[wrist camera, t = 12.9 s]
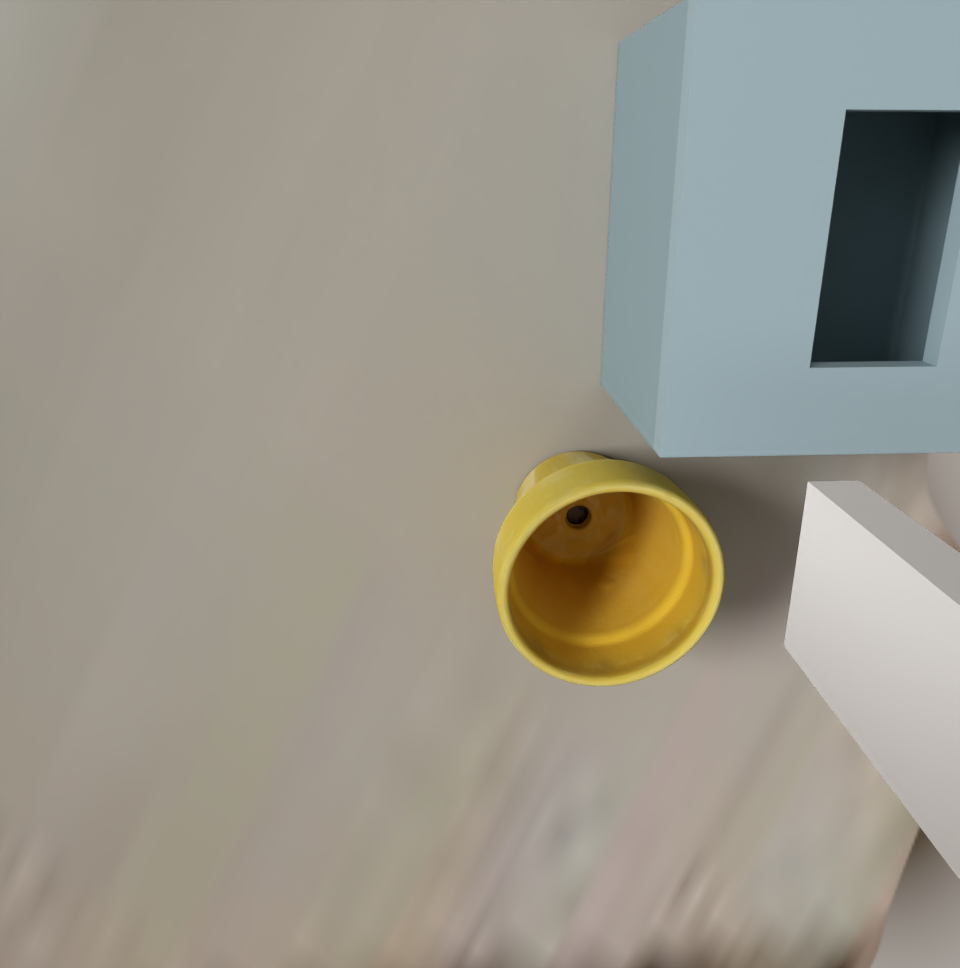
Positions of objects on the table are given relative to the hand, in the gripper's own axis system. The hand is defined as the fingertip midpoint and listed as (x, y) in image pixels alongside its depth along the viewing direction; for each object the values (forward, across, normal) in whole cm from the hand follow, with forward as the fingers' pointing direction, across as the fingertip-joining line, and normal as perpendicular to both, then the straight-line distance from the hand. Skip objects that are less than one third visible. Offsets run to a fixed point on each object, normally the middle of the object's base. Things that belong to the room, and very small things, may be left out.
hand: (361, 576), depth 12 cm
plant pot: (+32, +9, -12) cm, 35 cm away
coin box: (+32, +18, +3) cm, 37 cm away
